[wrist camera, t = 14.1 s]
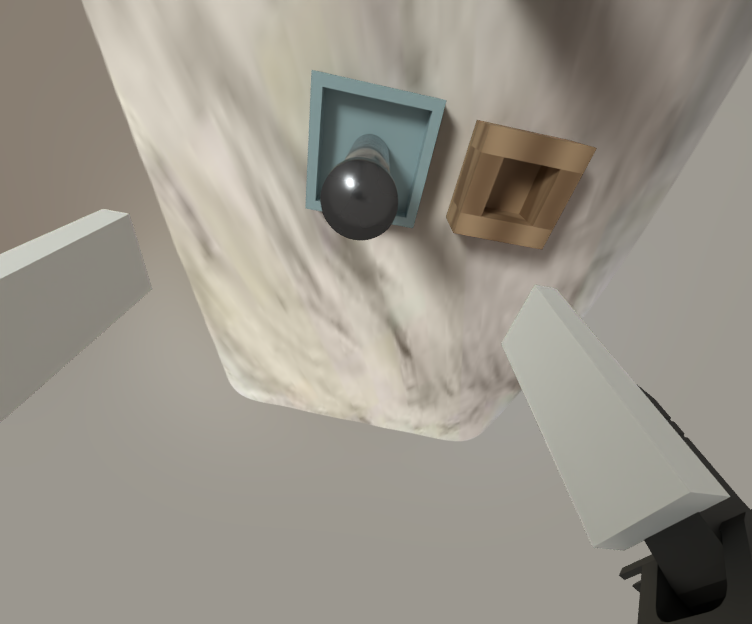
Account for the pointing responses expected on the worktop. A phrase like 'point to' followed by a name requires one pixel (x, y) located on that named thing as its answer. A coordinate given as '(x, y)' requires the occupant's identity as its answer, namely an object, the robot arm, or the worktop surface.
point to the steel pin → (361, 191)
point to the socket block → (515, 184)
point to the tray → (371, 116)
